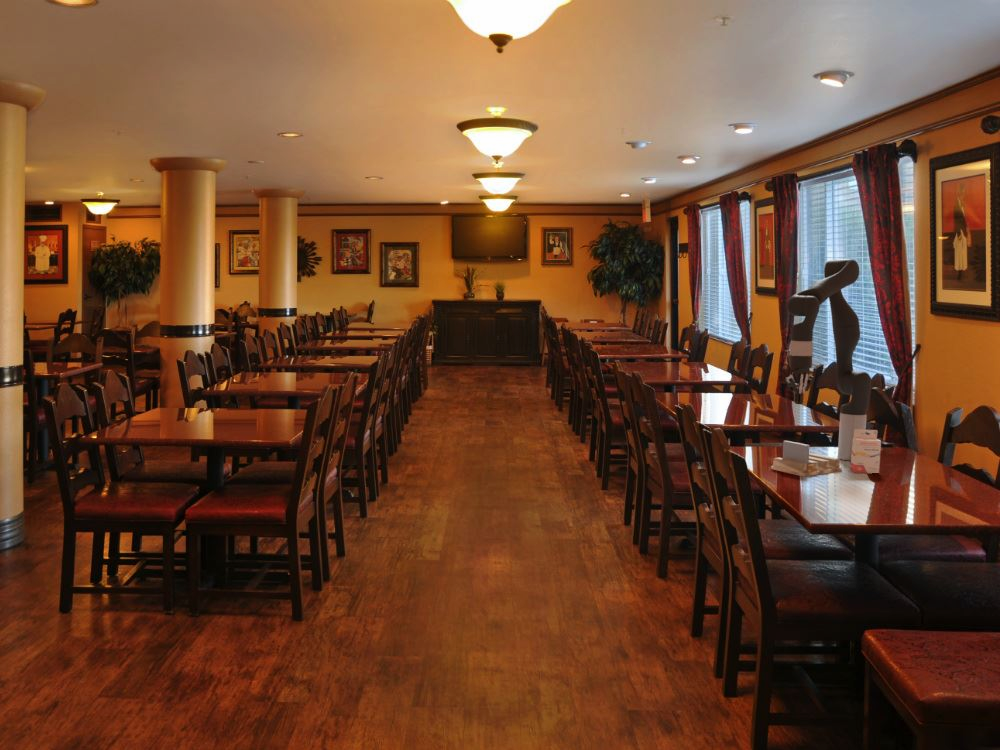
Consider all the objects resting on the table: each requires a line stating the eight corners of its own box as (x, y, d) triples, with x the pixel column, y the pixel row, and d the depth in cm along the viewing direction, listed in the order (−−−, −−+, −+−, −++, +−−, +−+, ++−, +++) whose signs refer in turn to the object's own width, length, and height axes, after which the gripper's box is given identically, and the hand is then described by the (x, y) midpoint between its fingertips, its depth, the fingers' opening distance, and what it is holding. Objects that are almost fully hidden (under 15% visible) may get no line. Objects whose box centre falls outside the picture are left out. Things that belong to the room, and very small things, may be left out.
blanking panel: (785, 465, 325) (786, 440, 324) (808, 471, 317) (809, 445, 316) (782, 466, 325) (783, 440, 324) (805, 471, 316) (806, 445, 315)
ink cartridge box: (854, 473, 320) (856, 431, 319) (850, 470, 325) (852, 428, 324) (879, 474, 319) (882, 432, 318) (875, 471, 324) (877, 429, 323)
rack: (809, 463, 335) (809, 452, 335) (841, 470, 323) (842, 459, 323) (770, 468, 324) (771, 457, 324) (802, 476, 313) (803, 464, 312)
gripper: (805, 352, 323) (802, 401, 325) (779, 353, 316) (776, 403, 318) (822, 354, 317) (820, 404, 319) (796, 355, 310) (794, 406, 312)
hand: (798, 403), depth 318 cm, fingers closed
